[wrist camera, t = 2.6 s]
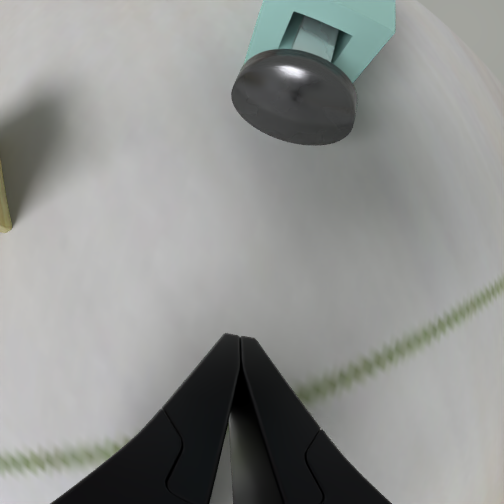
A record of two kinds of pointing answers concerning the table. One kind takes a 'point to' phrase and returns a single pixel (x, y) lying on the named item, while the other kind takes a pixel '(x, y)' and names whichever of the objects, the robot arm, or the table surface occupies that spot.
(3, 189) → the toy sofa
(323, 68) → the plunger
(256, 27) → the block
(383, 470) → the table surface
